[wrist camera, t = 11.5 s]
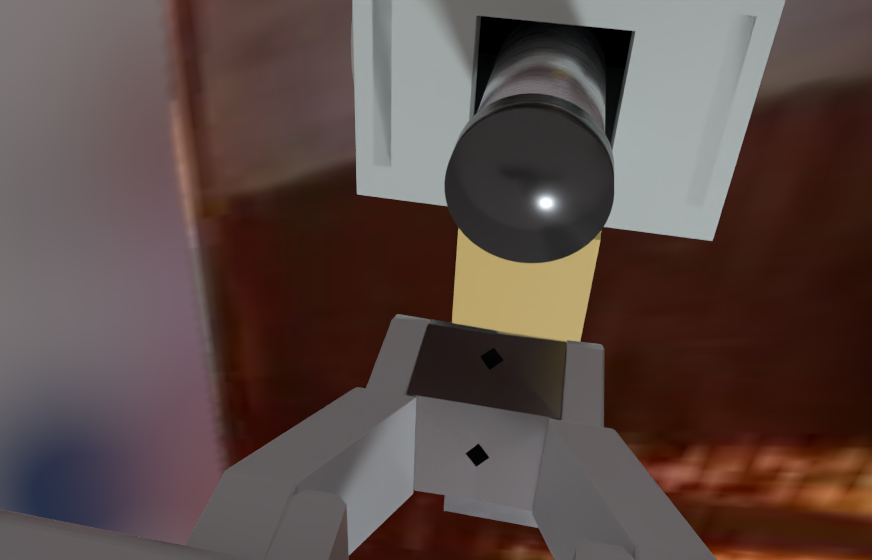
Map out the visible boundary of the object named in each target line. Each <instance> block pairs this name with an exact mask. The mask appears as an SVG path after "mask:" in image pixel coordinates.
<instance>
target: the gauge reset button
mask: <svg viewBox="0 0 872 560" xmlns="http://www.w3.org/2000/svg"><path fill="white" fill-rule="evenodd" d="M605 102H606V61H605V55H604V52H603V49H602V47H601V45H600V43H599V41H598V40H597V38H596V37H595V35H594V34H593V33H592V32H591V31H590V30H589V29H588V28H587V27H585V26H579V25H569V24H558V23H548V22H538V21H527V22H525V23H523V24H521V25H520V26H518V27H517V28H516V29H515V30H514V31H512V32H511V33H510V35H509V36H508V37H507V38H506V40H505V41H504V43H503V44H502V46H501V49H500V51H499V53H498V56H497V59H496V62H495V64H494V67H493V70H492V73H491V76H490V78H489V81H488V84H487V87H486V89H485V92H484V95H483V98H482V101H481V103H480V106H479V109H478V112H477V113H476V114H475V115H474V116H473V117H472V118H471V119H470V120H469V122H468V123H467V124H466V125H465V127H464V128H463V130H462V132H461V133H460V135H459V138H458V140H457V142H456V145H455V147H454V150H453V152H452V155H451V158H450V160H449V163H448V166H447V170H446V174H445V182H444V185H445V197H446V202H447V206H448V209H449V212H450V214H451V216H452V218H453V220H454V221H455V223H456V225H457V226H458V228H459V229H460V230H461V231H462V233H463V234H464V235H465V236H466V237H467V238H468V239H469V240H470V241H471V242H473V243H474V244H475V245H477V246H478V247H479V248H481V249H483V250H484V251H486V252H488V253H490V254H492V255H494V256H497V257H499V258H502V259H505V260H509V261H514V262H519V263H544V262H551V261H555V260H558V259H562V258H564V257H567V256H570V255H571V254H573V253H575V252H577V251H579V250H580V249H582V248H583V247H585V246H586V245H588V244H589V243H590V242H591V241H592V240H593V239H594V238H595V237H596V236H597V235H598V234H599V232H600V231H601V230H602V228H603V227H604V225H605V224H606V222H607V220H608V217H609V215H610V213H611V209H612V206H613V201H614V158H613V153H612V149H611V146H610V143H609V141H608V139H607V137H606V135H605Z"/></svg>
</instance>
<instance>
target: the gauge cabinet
mask: <svg viewBox="0 0 872 560" xmlns="http://www.w3.org/2000/svg"><path fill="white" fill-rule="evenodd" d="M784 3H785V0H353V14H352V27H351V63H352V73H353V80H354V87H355V130H356V173H357V194H358V195H366V196H374V197H381V198H389V199H397V200H404V201H412V202H419V203H427V204H435V205H442V206H447V202H446V197H445V185H444V182H445V174H446V170H447V166H448V163H449V160H450V158H451V155H452V152H453V150H454V147H455V145H456V142H457V140H458V138H459V135H460V133H461V132H462V130H463V128H464V127H465V125H466V124H467V123H468V122H469V120H470V119H471V118H472V117H473V116H474V115H475V114H476V113H477V112H478V109H479V106H480V103H481V101H482V98H483V95H484V92H485V89H486V87H487V84H488V81H489V78H490V76H491V73H492V70H493V67H494V64H495V62H496V59H497V56H498V55H492V54H483V53H478V52H479V38H480V25H481V16H487V17H497V18H507V19H518V20H528V21H538V22H548V23H558V24H569V25H579V26H589V27H599V28H609V29H619V30H630V31H632V35H631V40H630V45H629V51H628V56H627V61H626V66H625V68H616V67H607V66H606V102H605V135H606V137H607V139H608V141H609V143H610V146H611V149H612V153H613V158H614V201H613V206H612V209H611V213H610V215H609V217H608V220H607V222H606V224H605V225H604V227H610V228H618V229H625V230H633V231H641V232H648V233H656V234H664V235H671V236H679V237H687V238H694V239H702V240H709V241H713V238H714V234H715V231H716V228H717V224H718V221H719V218H720V215H721V211H722V208H723V205H724V201H725V198H726V195H727V191H728V188H729V185H730V182H731V178H732V175H733V172H734V168H735V165H736V162H737V158H738V155H739V152H740V149H741V145H742V142H743V139H744V135H745V132H746V129H747V125H748V122H749V119H750V116H751V112H752V109H753V106H754V102H755V99H756V96H757V92H758V89H759V86H760V83H761V79H762V76H763V73H764V69H765V66H766V63H767V59H768V56H769V53H770V50H771V46H772V43H773V40H774V36H775V33H776V30H777V26H778V23H779V20H780V17H781V13H782V10H783V7H784Z"/></svg>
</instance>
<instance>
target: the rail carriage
mask: <svg viewBox="0 0 872 560" xmlns="http://www.w3.org/2000/svg"><path fill="white" fill-rule="evenodd" d="M600 234H601V231H600V232H599V234H598V235H597V236H596V237H595V238H594V239H593V240H592V241H591V242H590V243H589V244H588V245H586V246H585V247H583V248H582V249H580V250H579V251H577V252H575V253H573V254H571V255H570V256H567V257H564V258H562V259H558V260H555V261H551V262H544V263H519V262H514V261H509V260H505V259H502V258H499V257H497V256H494V255H492V254H490V253H488V252H486V251H484V250H483V249H481V248H479V247H478V246H477V245H475V244H474V243H473V242H471V241H470V240H469V239H468V238H467V237H466V236H465V235H464V234H463V233H462V231H461V230H460V229H459V228H458V242H457V256H456V271H455V285H454V300H453V315H452V323H455V324H461V325H467V326H473V327H478V328H484V329H490V330H496V331H501V332H508V333H514V334H521V335H528V336H535V337H542V338H549V339H556V340H563V341H566V342H567V340H570V341H577V342H580V340H581V335H582V330H583V325H584V320H585V315H586V310H587V305H588V300H589V295H590V290H591V284H592V279H593V274H594V269H595V264H596V259H597V254H598V249H599V244H600Z"/></svg>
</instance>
